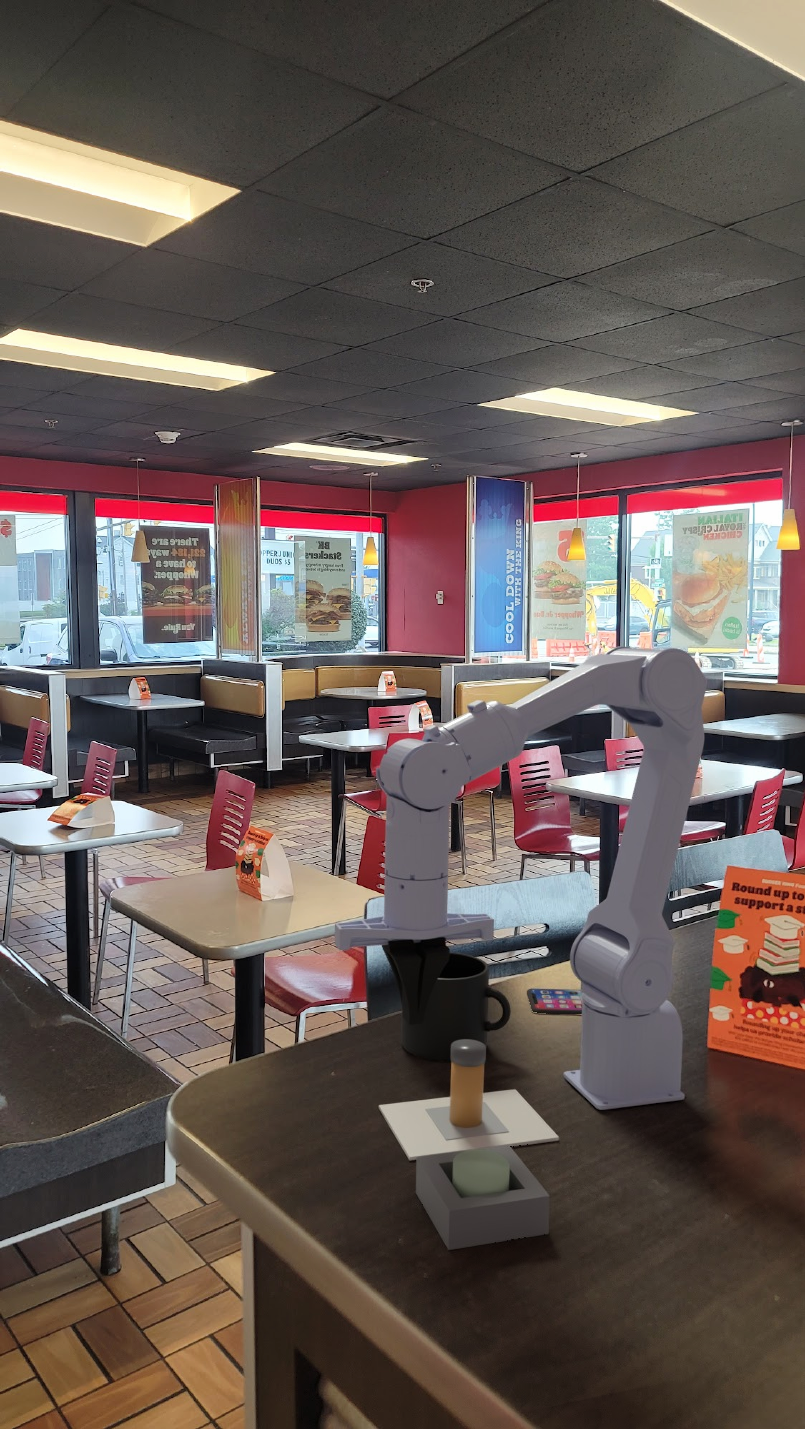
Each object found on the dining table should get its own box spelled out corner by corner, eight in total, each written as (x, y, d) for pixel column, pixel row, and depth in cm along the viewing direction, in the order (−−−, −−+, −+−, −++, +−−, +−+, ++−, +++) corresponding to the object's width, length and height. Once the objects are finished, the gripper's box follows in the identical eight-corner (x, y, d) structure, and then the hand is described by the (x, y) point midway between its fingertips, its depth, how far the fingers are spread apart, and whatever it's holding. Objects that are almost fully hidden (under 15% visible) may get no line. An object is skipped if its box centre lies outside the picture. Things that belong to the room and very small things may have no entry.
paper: (515, 1092, 102) (515, 1088, 102) (558, 1140, 92) (558, 1136, 92) (378, 1108, 98) (378, 1104, 98) (409, 1160, 88) (409, 1156, 88)
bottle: (475, 1109, 97) (478, 1037, 96) (488, 1125, 94) (491, 1051, 93) (443, 1113, 96) (445, 1041, 95) (455, 1130, 93) (458, 1055, 92)
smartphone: (658, 1013, 123) (532, 1009, 123) (658, 1020, 123) (532, 1017, 123) (645, 990, 130) (526, 987, 130) (644, 997, 130) (526, 994, 130)
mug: (499, 1072, 106) (501, 987, 105) (389, 1055, 110) (391, 972, 109) (518, 1038, 115) (520, 959, 114) (415, 1024, 119) (417, 947, 118)
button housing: (507, 1179, 85) (508, 1144, 85) (548, 1233, 78) (549, 1195, 77) (415, 1192, 83) (416, 1156, 83) (448, 1249, 75) (449, 1210, 75)
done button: (496, 1182, 83) (497, 1146, 83) (517, 1211, 79) (518, 1174, 79) (444, 1189, 82) (445, 1153, 82) (463, 1219, 78) (464, 1181, 77)
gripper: (476, 859, 98) (472, 998, 100) (327, 866, 94) (325, 1011, 95) (504, 877, 92) (500, 1025, 93) (345, 885, 88) (343, 1040, 89)
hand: (413, 1020), depth 94 cm, fingers closed
